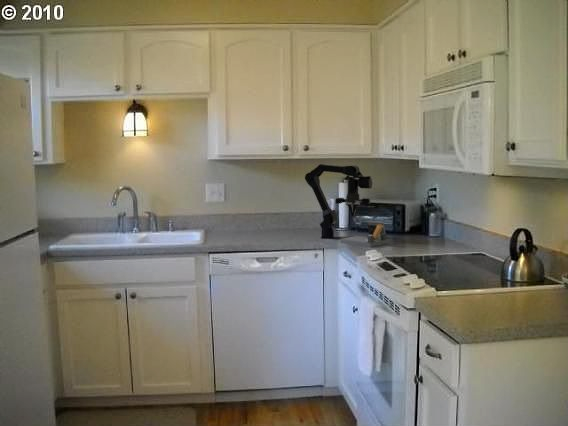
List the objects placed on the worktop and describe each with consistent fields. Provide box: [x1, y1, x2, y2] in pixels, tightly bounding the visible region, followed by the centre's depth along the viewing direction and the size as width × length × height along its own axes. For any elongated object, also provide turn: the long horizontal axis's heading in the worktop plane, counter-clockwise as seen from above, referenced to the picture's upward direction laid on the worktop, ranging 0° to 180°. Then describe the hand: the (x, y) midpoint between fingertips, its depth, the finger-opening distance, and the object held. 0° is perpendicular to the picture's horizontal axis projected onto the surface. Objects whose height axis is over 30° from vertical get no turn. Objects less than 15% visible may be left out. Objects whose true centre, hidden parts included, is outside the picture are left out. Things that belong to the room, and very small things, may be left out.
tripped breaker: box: [373, 224, 383, 240], centre depth 294 cm, size 2×4×9 cm, turn 135°
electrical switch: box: [367, 220, 386, 235], centre depth 318 cm, size 9×5×9 cm, turn 57°
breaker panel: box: [340, 232, 389, 248], centre depth 301 cm, size 20×15×6 cm
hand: (352, 216), depth 311 cm, fingers closed
